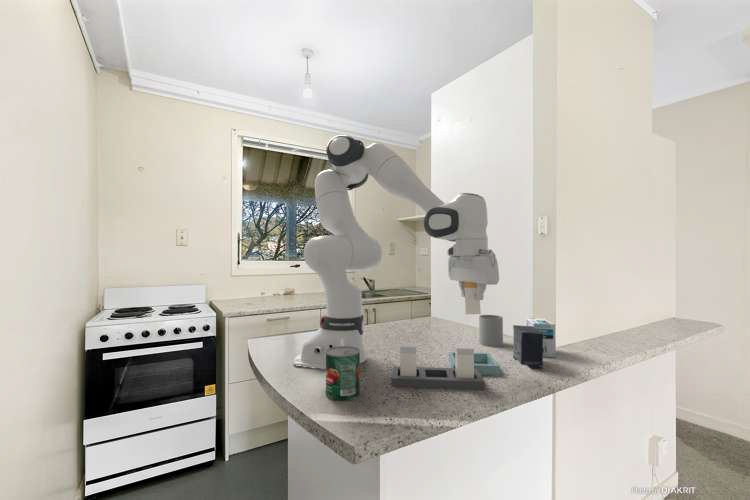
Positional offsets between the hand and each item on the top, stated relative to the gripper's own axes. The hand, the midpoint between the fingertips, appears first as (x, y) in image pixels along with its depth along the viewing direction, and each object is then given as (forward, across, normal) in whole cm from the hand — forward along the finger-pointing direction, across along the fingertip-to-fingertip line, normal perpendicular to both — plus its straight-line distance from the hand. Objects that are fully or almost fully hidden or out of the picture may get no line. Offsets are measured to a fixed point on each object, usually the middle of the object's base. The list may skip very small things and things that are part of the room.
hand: (471, 298), depth 98 cm
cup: (+21, +24, -24) cm, 39 cm away
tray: (+21, 0, 0) cm, 21 cm away
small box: (+21, +1, -20) cm, 29 cm away
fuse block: (+21, -6, +15) cm, 26 cm away
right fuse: (+20, -9, +8) cm, 23 cm away
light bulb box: (+21, +9, -32) cm, 39 cm away
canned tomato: (+21, -7, +39) cm, 45 cm away
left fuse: (+20, -4, +21) cm, 29 cm away
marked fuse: (+4, 0, 0) cm, 4 cm away
